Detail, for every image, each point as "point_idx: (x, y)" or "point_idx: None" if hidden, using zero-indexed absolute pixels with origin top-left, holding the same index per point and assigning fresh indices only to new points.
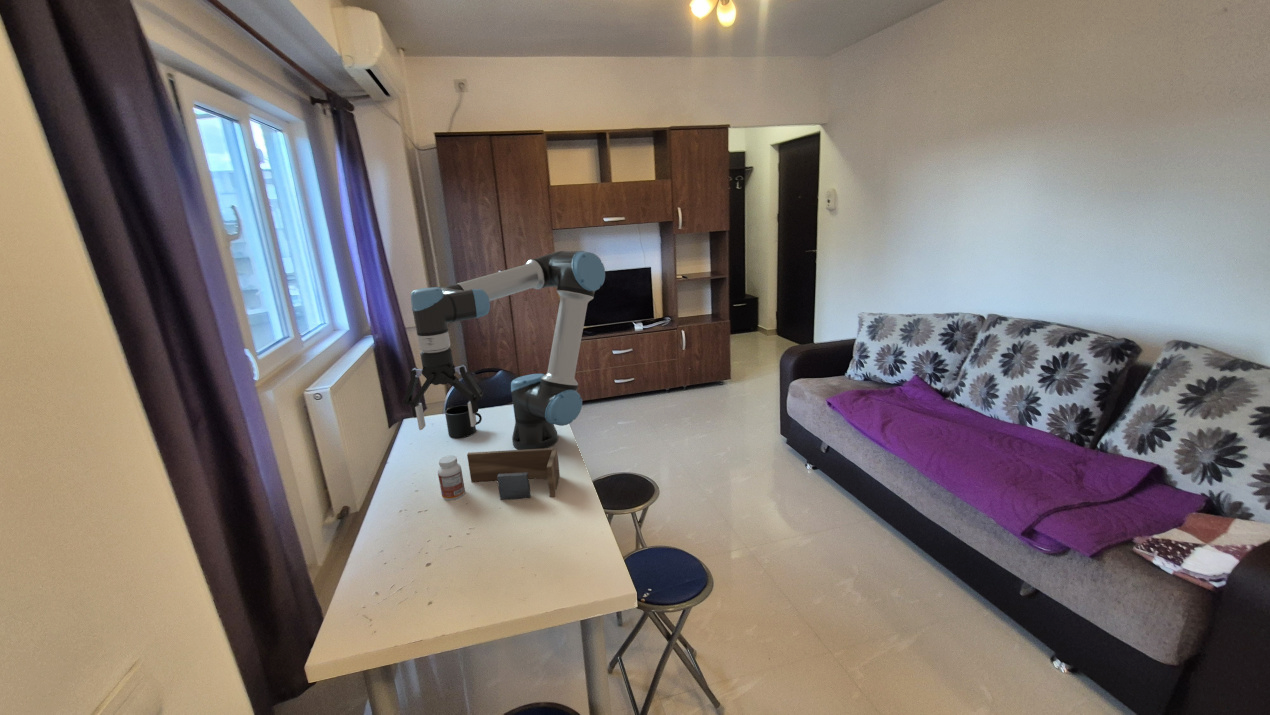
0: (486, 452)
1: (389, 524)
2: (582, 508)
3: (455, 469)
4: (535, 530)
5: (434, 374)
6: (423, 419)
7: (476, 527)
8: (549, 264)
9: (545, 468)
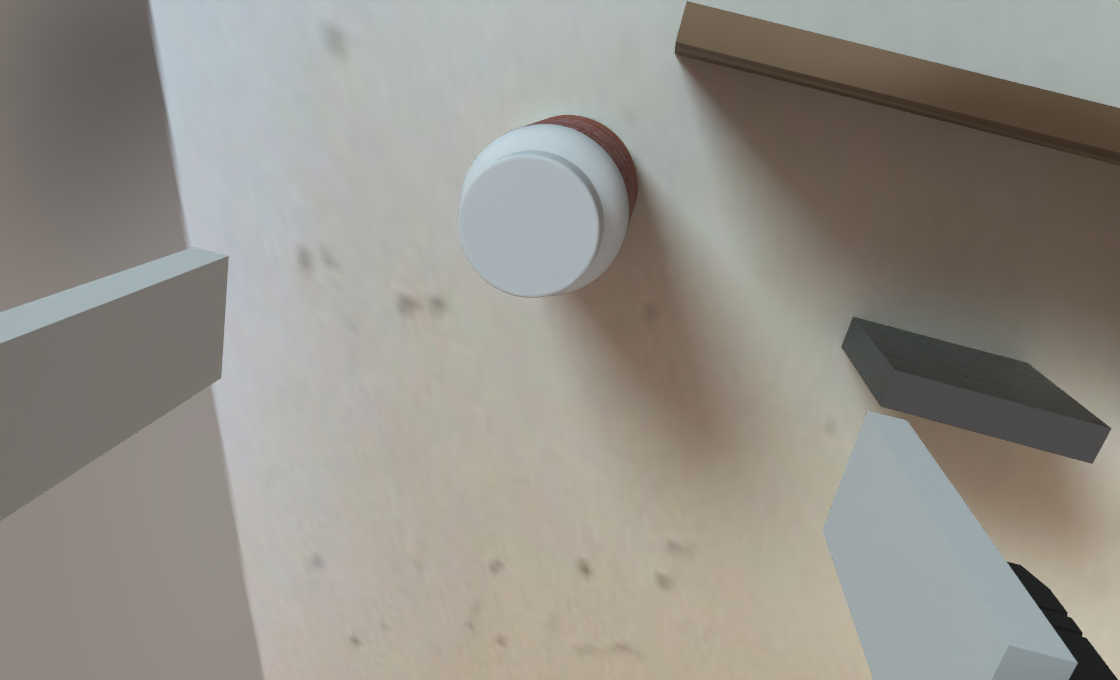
0: (853, 63)
1: (285, 371)
2: None
3: (591, 274)
4: None
5: None
6: (161, 318)
7: (701, 550)
8: None
9: None
